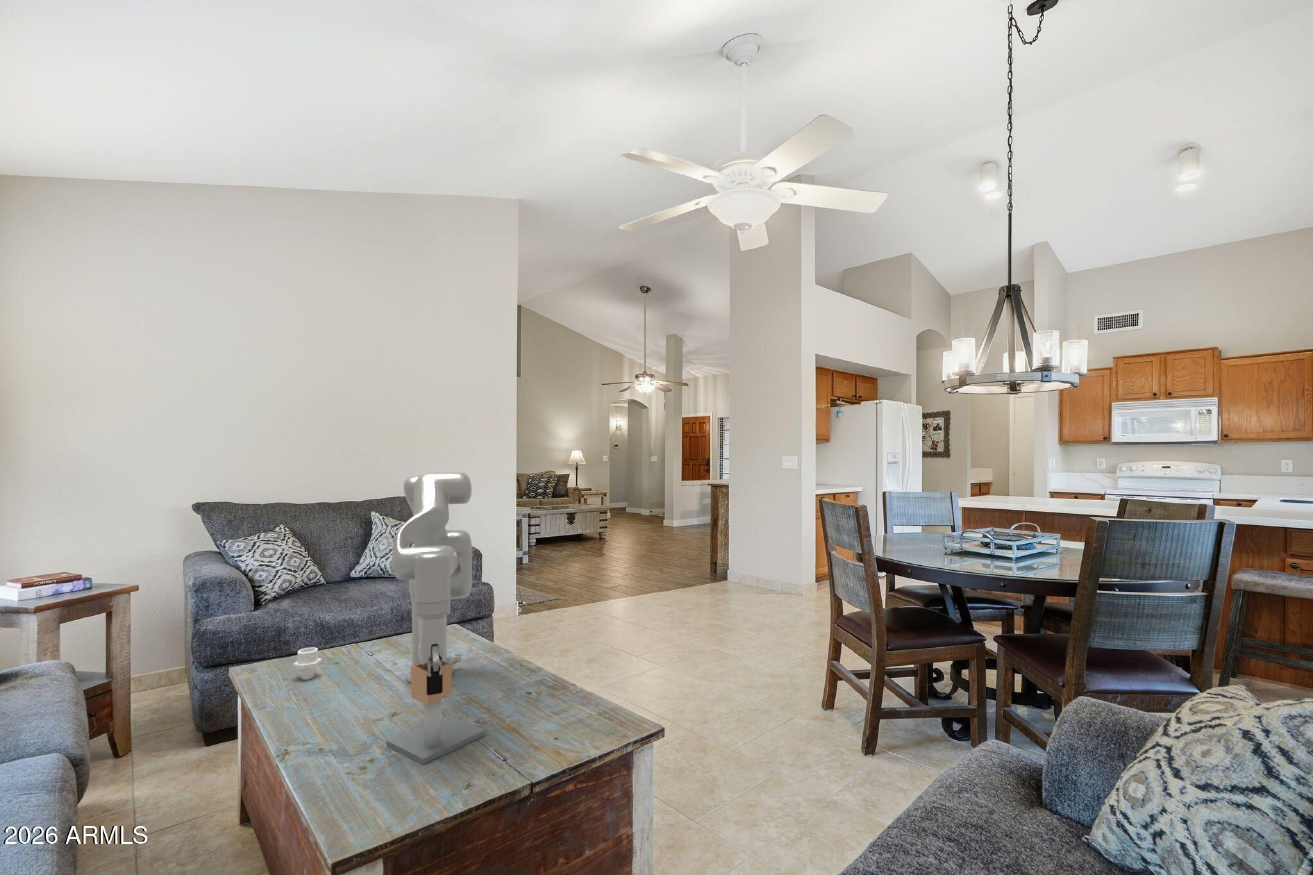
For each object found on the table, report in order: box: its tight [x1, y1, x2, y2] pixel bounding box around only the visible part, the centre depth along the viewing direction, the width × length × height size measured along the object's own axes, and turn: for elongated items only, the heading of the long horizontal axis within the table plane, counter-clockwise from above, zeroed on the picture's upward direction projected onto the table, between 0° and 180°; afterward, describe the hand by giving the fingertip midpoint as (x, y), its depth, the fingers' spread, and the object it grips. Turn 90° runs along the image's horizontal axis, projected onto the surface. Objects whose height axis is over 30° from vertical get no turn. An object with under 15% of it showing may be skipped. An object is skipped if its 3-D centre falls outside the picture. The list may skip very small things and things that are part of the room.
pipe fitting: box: [293, 646, 323, 681], centre depth 178 cm, size 6×7×8 cm
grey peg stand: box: [386, 699, 486, 765], centre depth 139 cm, size 16×14×11 cm
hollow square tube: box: [410, 659, 452, 705], centre depth 135 cm, size 6×6×7 cm
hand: (432, 686), depth 135 cm, fingers closed on hollow square tube, 8 cm apart
